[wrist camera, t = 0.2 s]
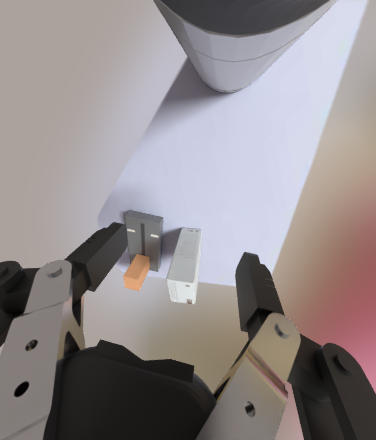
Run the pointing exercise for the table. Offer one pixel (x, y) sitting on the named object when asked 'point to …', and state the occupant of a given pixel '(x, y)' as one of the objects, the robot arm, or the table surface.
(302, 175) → the table surface
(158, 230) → the fader console
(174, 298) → the skincare box
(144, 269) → the fader tab
